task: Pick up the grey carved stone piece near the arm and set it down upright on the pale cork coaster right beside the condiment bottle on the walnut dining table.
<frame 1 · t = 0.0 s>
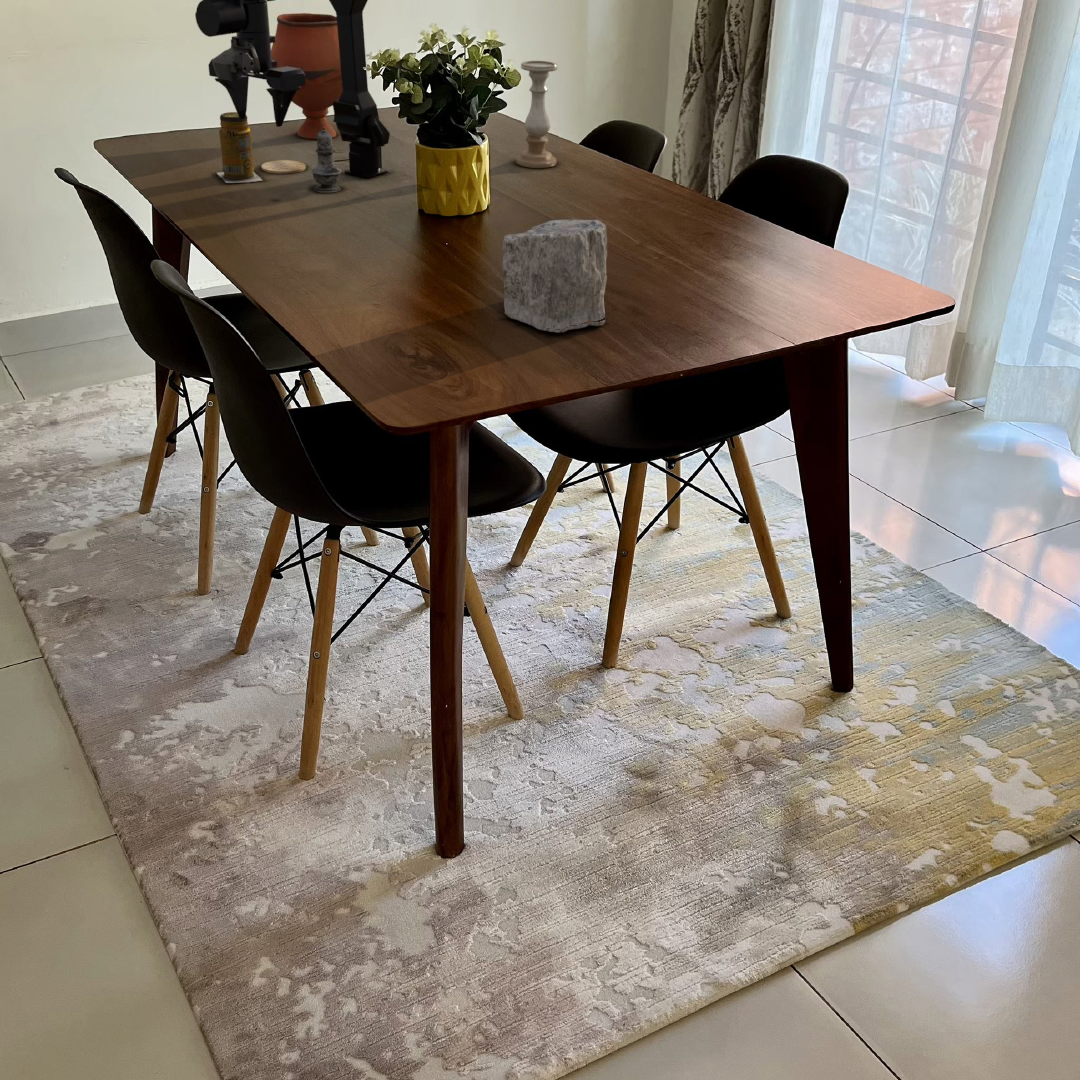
hand: (260, 122, 216), 15 cm above the table, tool pointing down, fingers open, 9 cm apart
condiment: (239, 178, 238), on the table
goblet: (317, 136, 271), on the table
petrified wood: (557, 313, 180), on the table
coaster: (283, 168, 246), on the table
grey carved stone piece: (327, 190, 233), on the table
candle holder: (536, 164, 256), on the table
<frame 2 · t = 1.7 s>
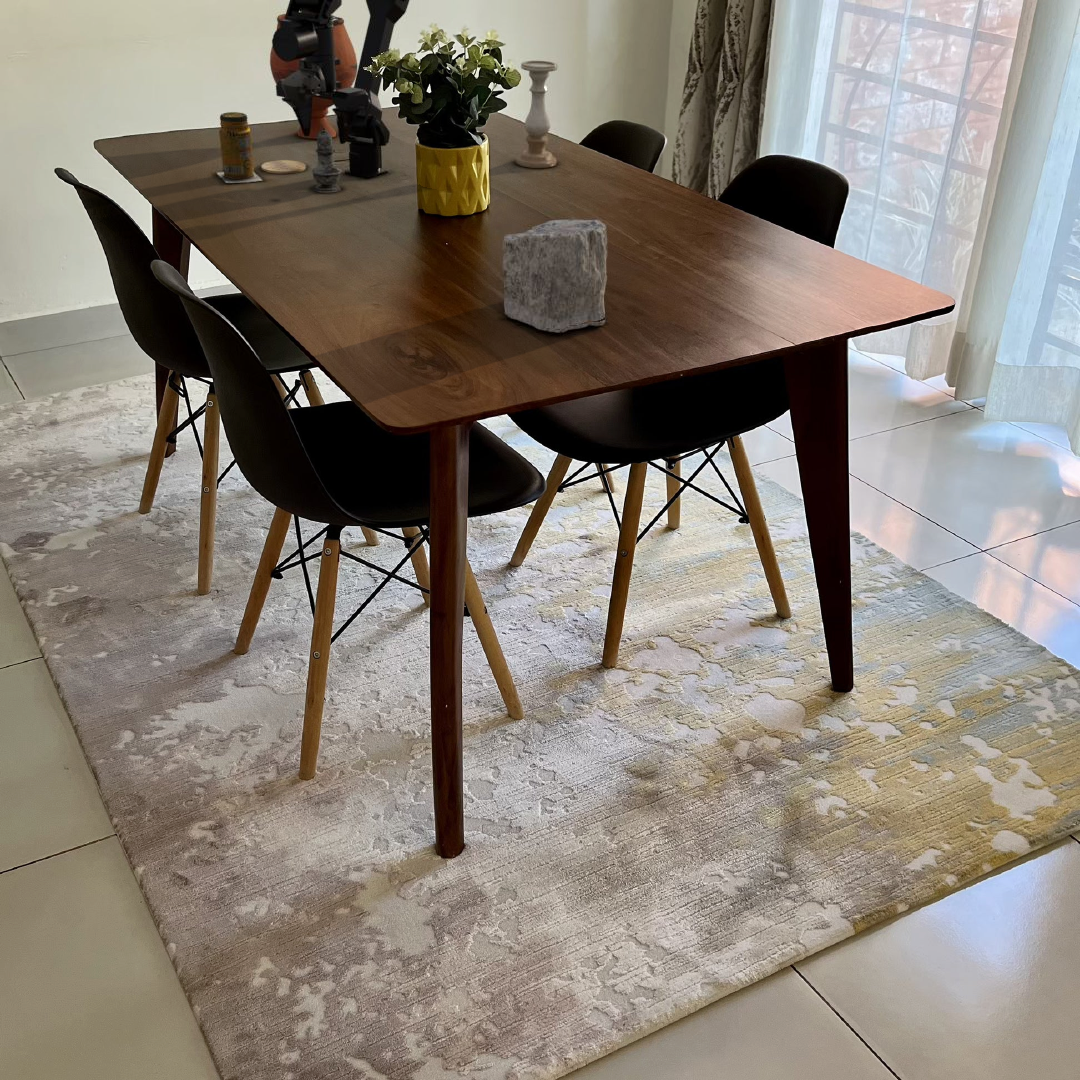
hand: (324, 139, 228), 9 cm above the table, tool pointing down, fingers open, 9 cm apart
nothing on the table moved.
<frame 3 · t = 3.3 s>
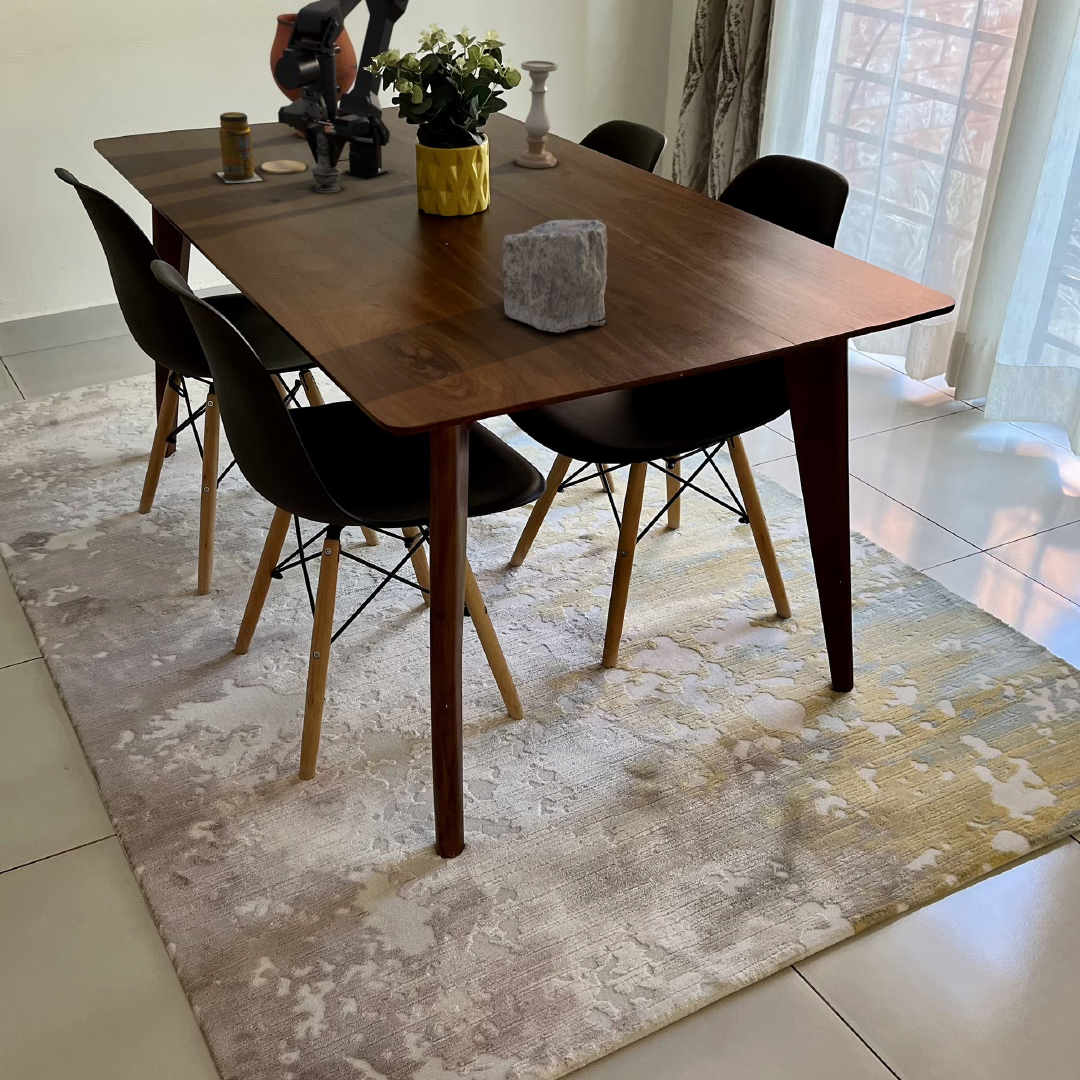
hand: (326, 165, 231), 5 cm above the table, tool pointing down, fingers closed on grey carved stone piece, 3 cm apart
grey carved stone piece: (327, 190, 233), on the table, touching gripper
everything else where it was.
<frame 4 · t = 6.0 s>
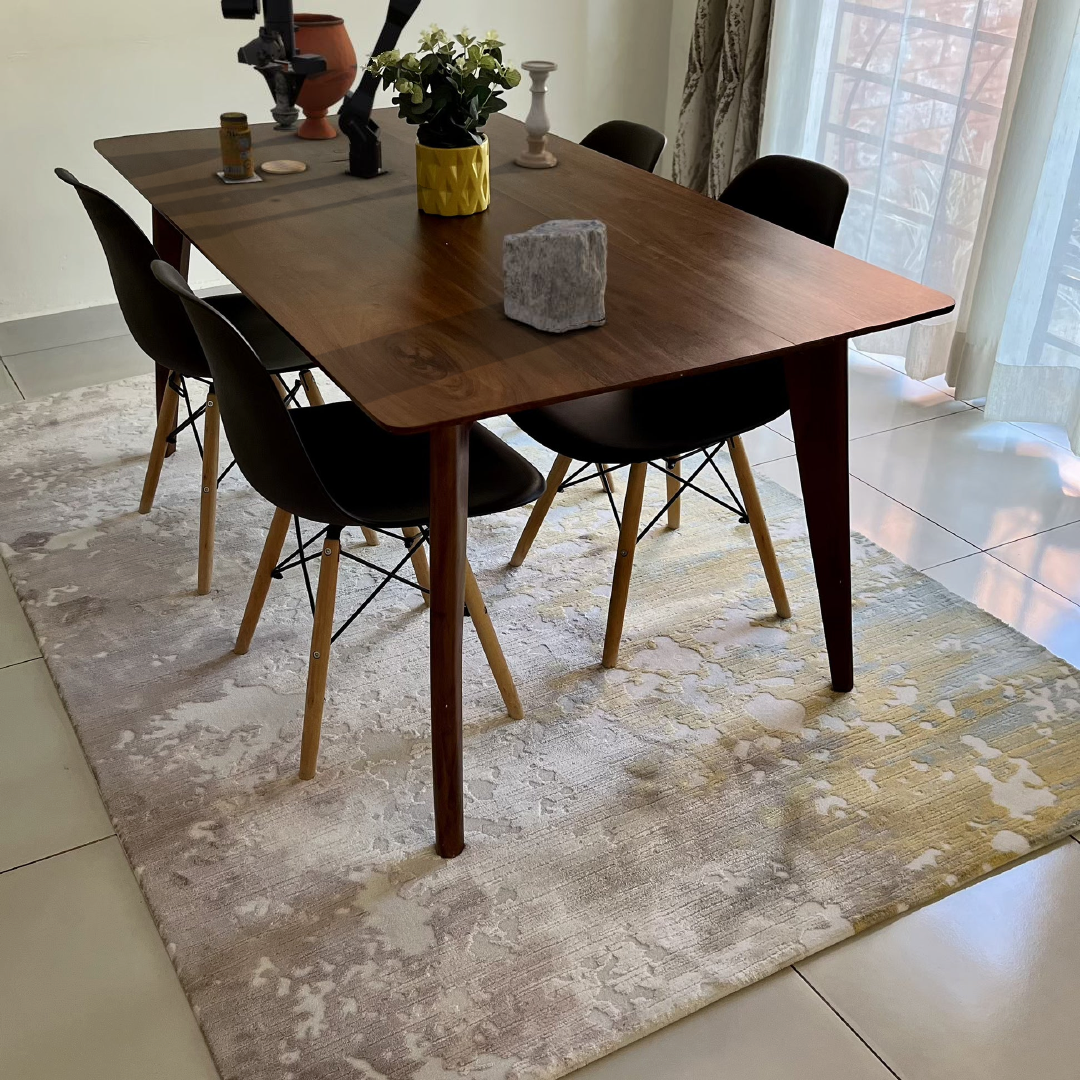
hand: (284, 105, 237), 13 cm above the table, tool pointing down, fingers closed on grey carved stone piece, 3 cm apart
grey carved stone piece: (286, 129, 239), point 8 cm above the table, touching gripper
everything else where it was.
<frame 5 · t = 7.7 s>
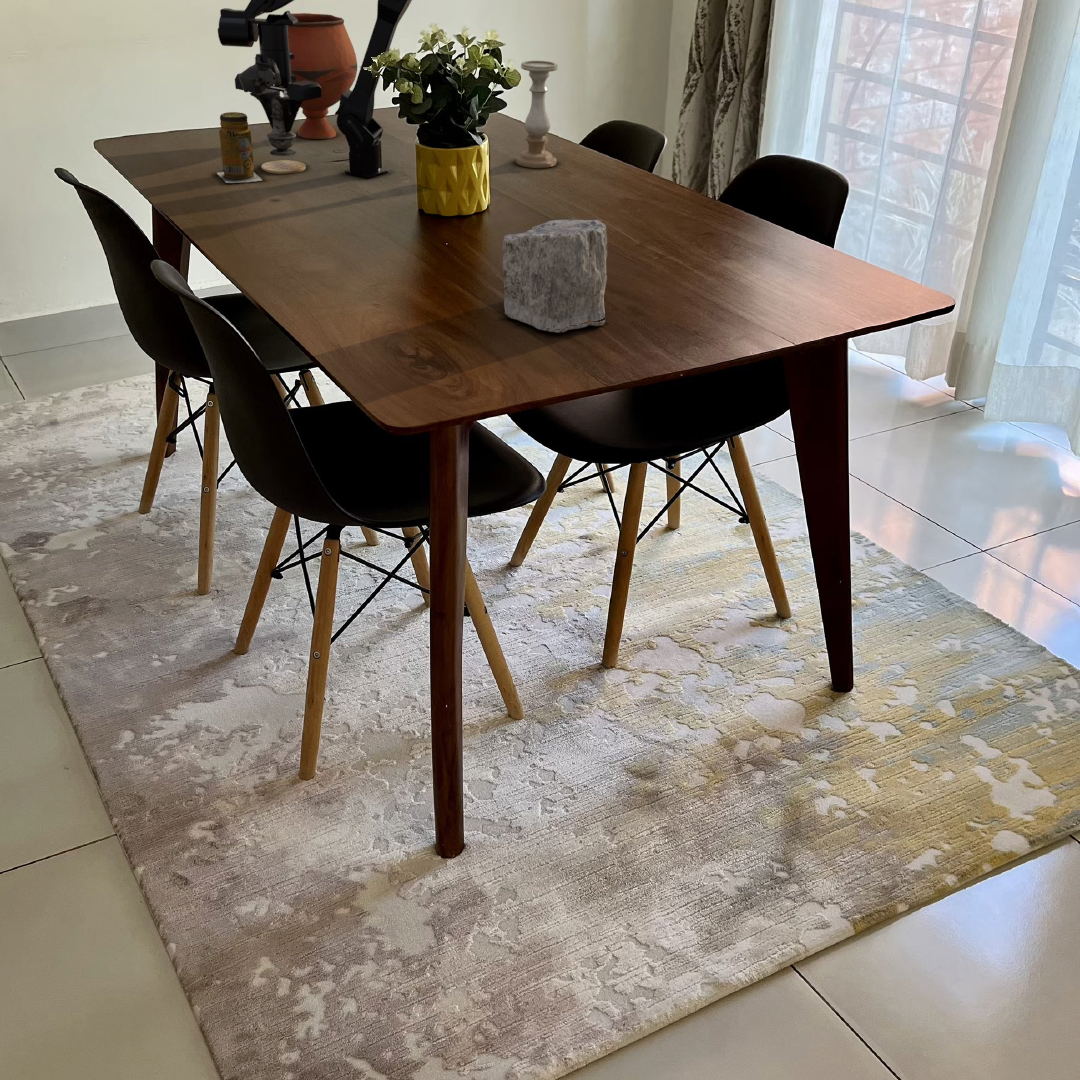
hand: (281, 130, 242), 8 cm above the table, tool pointing down, fingers closed on grey carved stone piece, 3 cm apart
grey carved stone piece: (283, 154, 244), point 3 cm above the table, touching gripper
everything else where it was.
when the fingers open (5 cm above the table, at t = 8.9 s): grey carved stone piece stays where it is, resting on coaster.
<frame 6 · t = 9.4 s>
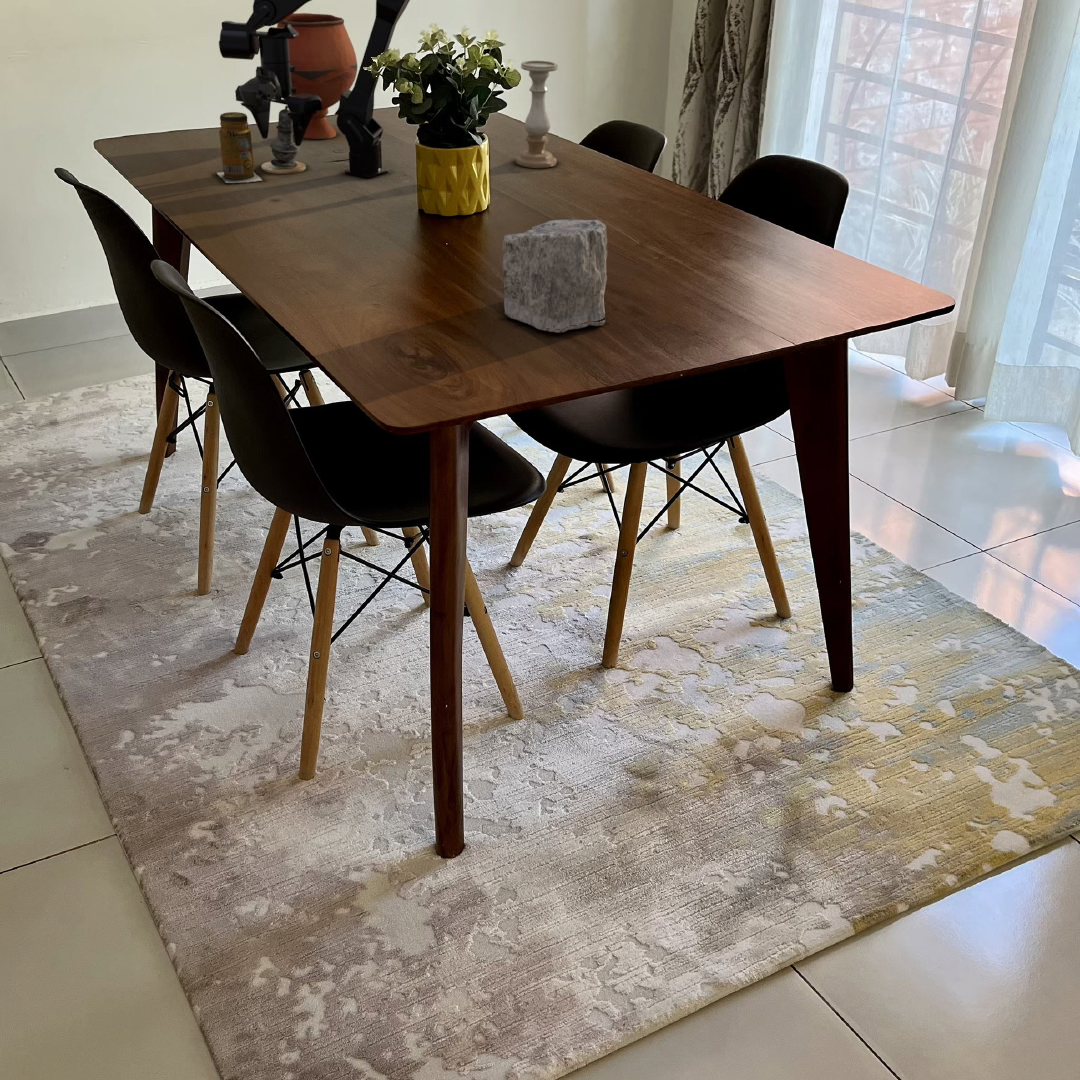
hand: (281, 142, 243), 5 cm above the table, tool pointing down, fingers open, 9 cm apart
grey carved stone piece: (283, 164, 245), point 1 cm above the table, touching coaster
everything else where it was.
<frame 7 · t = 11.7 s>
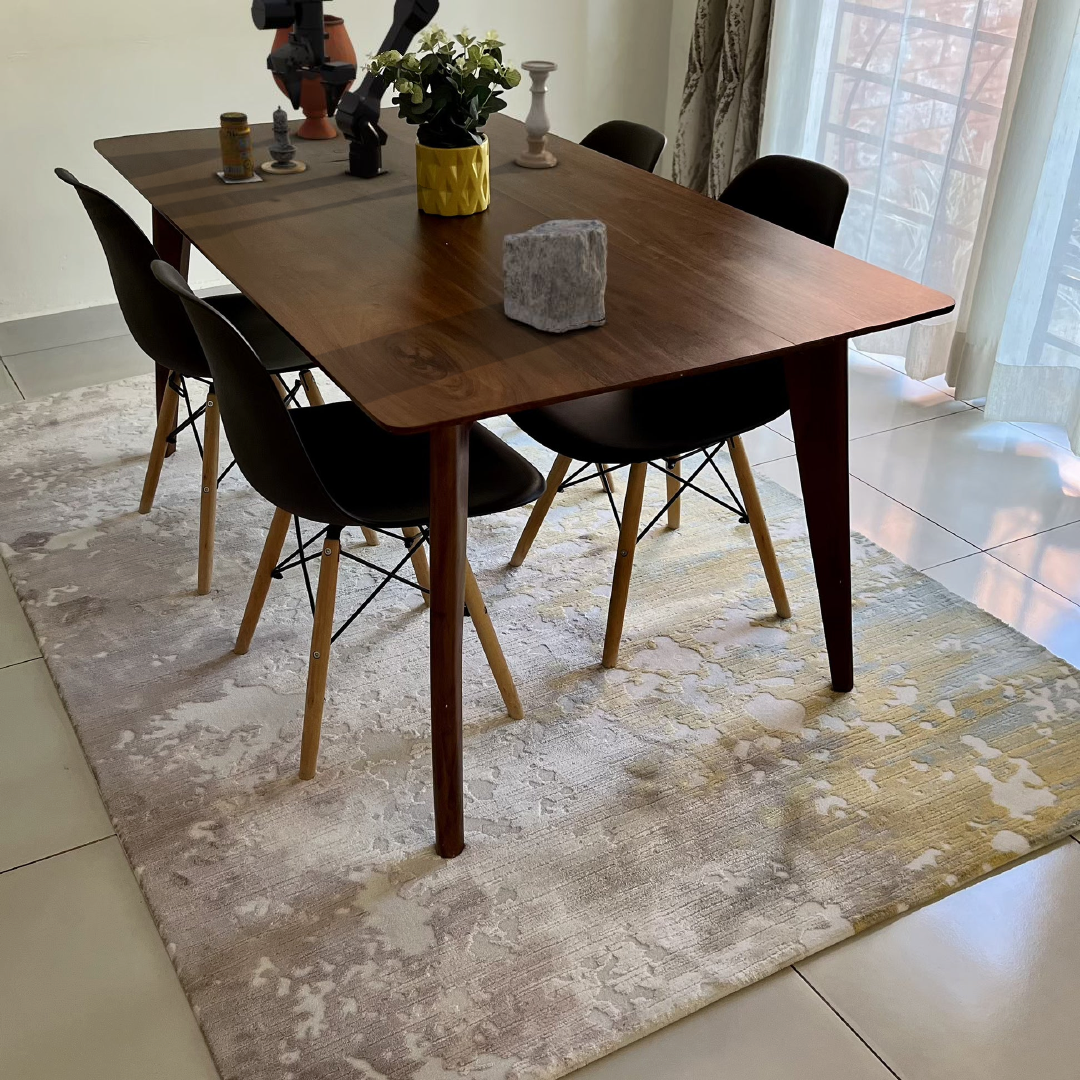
hand: (313, 113, 231), 13 cm above the table, tool pointing down, fingers open, 9 cm apart
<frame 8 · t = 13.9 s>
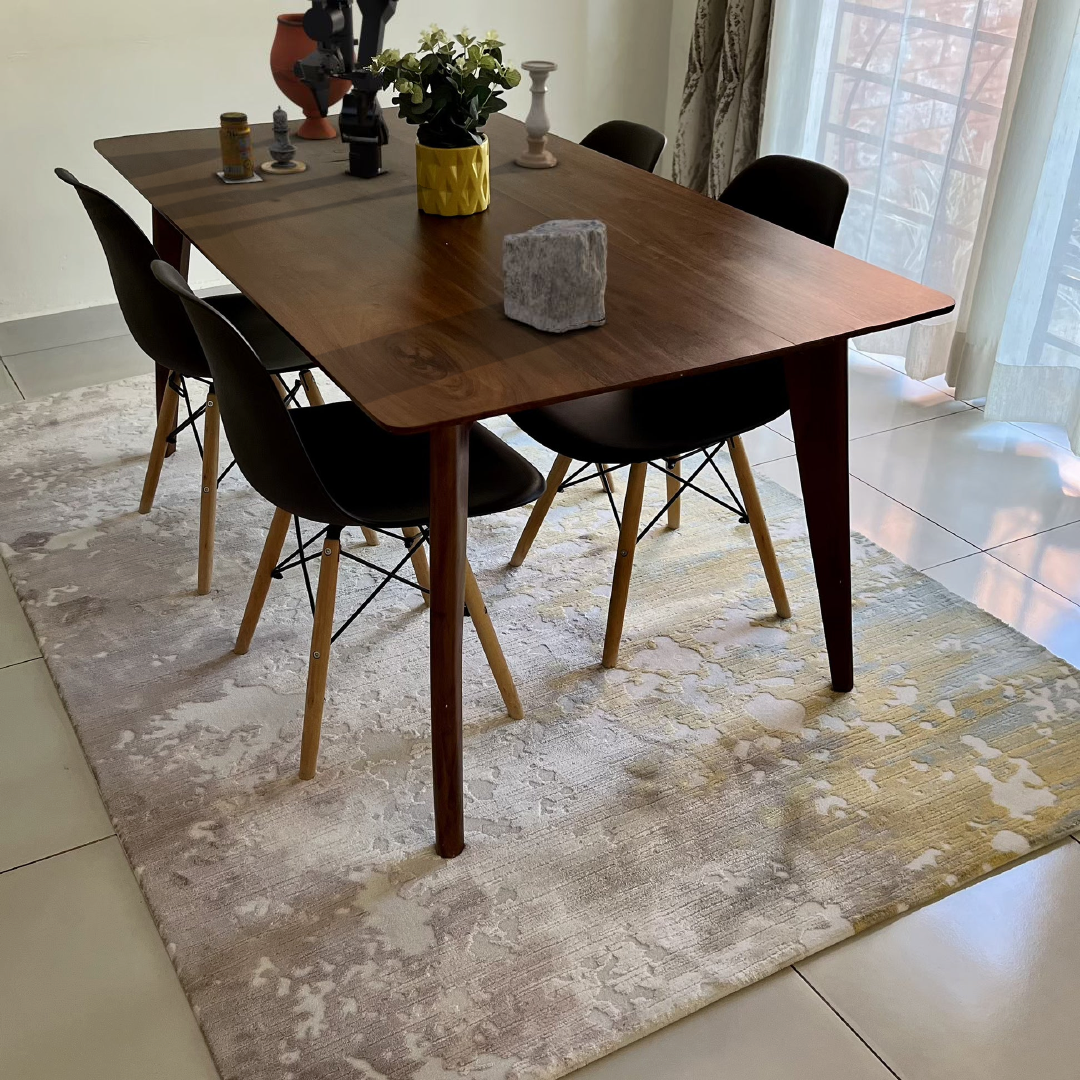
hand: (342, 121, 227), 13 cm above the table, tool pointing down, fingers open, 9 cm apart
at the end: grey carved stone piece 11.1 cm from the condiment (horizontally); grey carved stone piece 0.1 cm off-centre on the coaster, point 0.3 cm above the coaster's base; grey carved stone piece tilted 0° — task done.
